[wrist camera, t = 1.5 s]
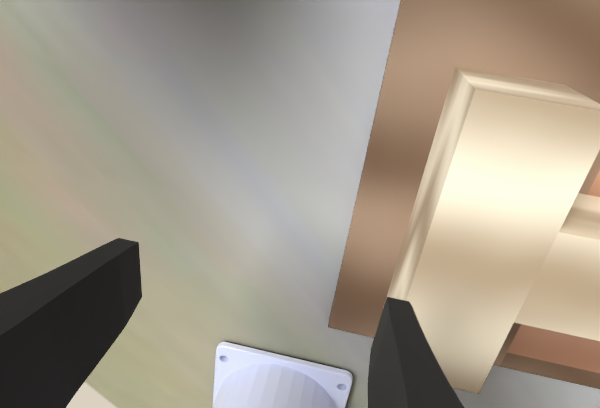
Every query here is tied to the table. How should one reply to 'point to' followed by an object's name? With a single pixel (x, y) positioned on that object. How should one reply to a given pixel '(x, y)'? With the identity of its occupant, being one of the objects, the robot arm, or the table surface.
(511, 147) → the t block
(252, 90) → the table surface
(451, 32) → the brown rectangular board
